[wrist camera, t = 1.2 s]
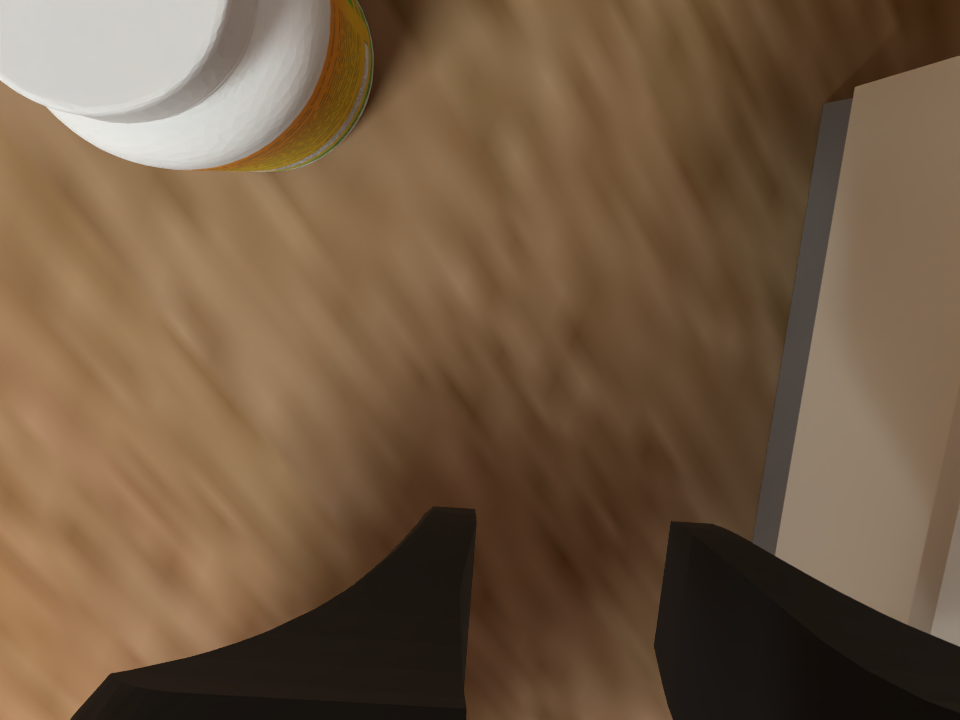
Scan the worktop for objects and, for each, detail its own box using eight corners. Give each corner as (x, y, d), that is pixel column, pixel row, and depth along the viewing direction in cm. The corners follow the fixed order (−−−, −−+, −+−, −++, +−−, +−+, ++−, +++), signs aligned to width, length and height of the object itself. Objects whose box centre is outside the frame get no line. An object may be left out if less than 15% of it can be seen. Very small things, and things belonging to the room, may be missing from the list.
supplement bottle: (414, 15, 19) (359, -137, 10) (318, 210, 20) (186, 241, 11) (213, -102, 19) (-49, -384, 9) (125, 105, 20) (-192, 42, 10)
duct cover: (874, 1270, 13) (789, 1258, 13) (751, 870, 21) (699, 864, 21) (1201, 9, 9) (1072, 2, 9) (893, 89, 17) (825, 84, 17)
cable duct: (966, 790, 25) (1033, 872, 22) (714, 776, 24) (746, 858, 22) (1132, 127, 20) (1243, 119, 17) (823, 103, 20) (883, 91, 17)
